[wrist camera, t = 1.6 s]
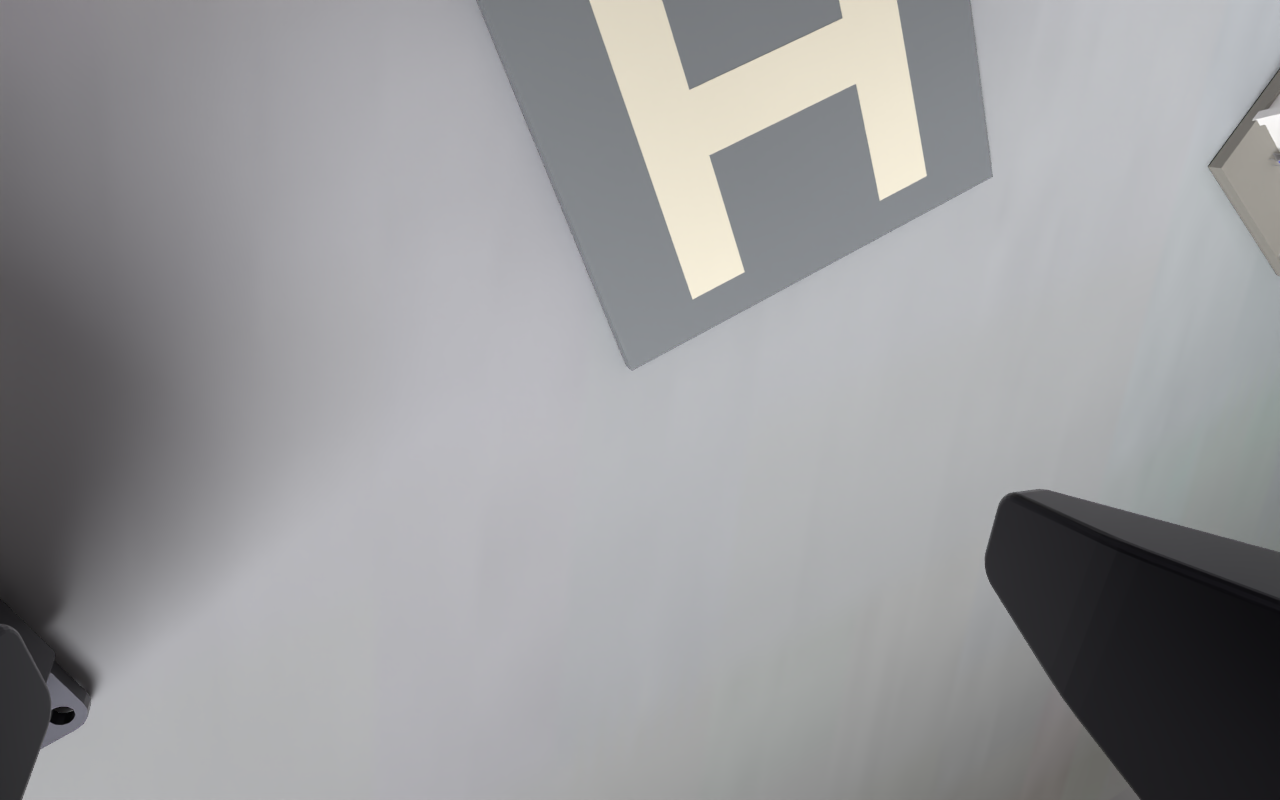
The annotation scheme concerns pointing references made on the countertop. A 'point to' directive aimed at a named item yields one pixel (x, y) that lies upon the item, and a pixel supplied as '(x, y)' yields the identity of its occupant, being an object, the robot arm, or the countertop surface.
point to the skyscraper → (1256, 171)
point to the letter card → (738, 140)
